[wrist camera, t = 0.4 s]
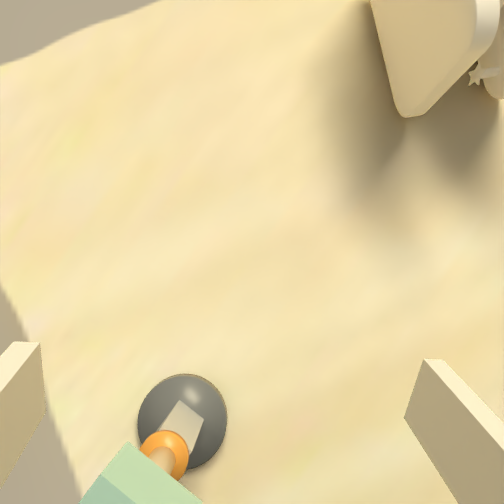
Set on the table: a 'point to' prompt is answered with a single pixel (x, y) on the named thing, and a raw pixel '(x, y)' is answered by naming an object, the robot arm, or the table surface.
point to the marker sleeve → (136, 482)
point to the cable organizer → (439, 48)
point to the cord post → (182, 423)
